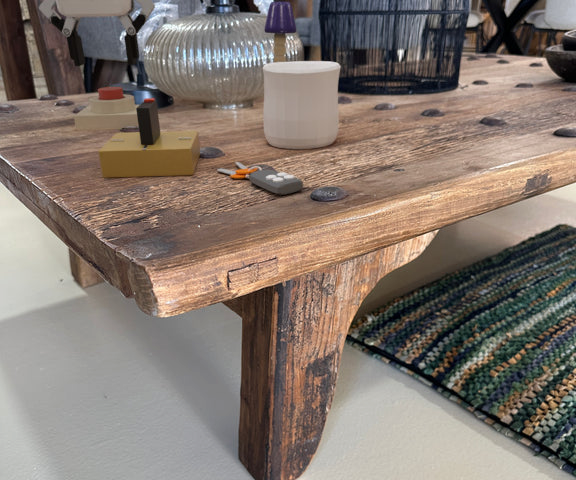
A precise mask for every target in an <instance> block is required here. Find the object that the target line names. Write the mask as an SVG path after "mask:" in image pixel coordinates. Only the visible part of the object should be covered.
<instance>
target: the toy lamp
mask: <svg viewBox="0 0 576 480" xmlns="http://www.w3.org/2000/svg"><path fill="white" fill-rule="evenodd" d="M296 32H297V27H296V20H295V16H294V11H293V6H292V3H291V2H289V1H270V3H269V6H268V11H267V15H266V20H265V24H264V33H266V34H274V35H273V42H274V46H273V53H274V58H273V63H275V62H287V58H286V53H287V47H286V42H287V36H286V34H296Z"/></svg>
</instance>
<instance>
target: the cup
mask: <svg viewBox="0 0 576 480" xmlns="http://www.w3.org/2000/svg"><path fill="white" fill-rule="evenodd" d="M341 67H342V66H341V64H340V63H338V62H335V61H329V60H327V61H325V60H297V61H286V62H275V63H274V62H268V63H266V64H264V65H263V66H262V72H263V93H264V96H263V110H262V116H263V117H262V118H263V119H262V120H263V133H264V137H265V139H266V141H267V143H268V144H269V145H270V146H272V147H274V148H275V147H276V148H279V149H286V150H311V149H318V148H319V149H320V148H323V147H327V146H330V145H332V144H333V143H334V142H335V141H336V139H337V137H338V133H339V124H340V123H339V122H340V121H339V118H340V112H339V111H340V110H339V95H338V94H339V92H338V91H339V80H340V72H341Z"/></svg>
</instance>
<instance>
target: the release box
mask: <svg viewBox="0 0 576 480" xmlns="http://www.w3.org/2000/svg"><path fill="white" fill-rule="evenodd" d="M123 96H124V98H122V99H116V100H100V99H99V95H97V96H92V97H90V98H89V99H88V104H89V105H87V106H86V107H84V108H83V109H82V110H80V111H79V112H77V113H75V114H74V115H73V120H74V127H75V131H106V130H107V131H110V130H123V129H122V128H124V127H127V126H137V127H139V126H138V118H137V111H136V108H137V107H138V106H139V105H140V104H136V101H135V96H134V95H131V94H125V93H123Z"/></svg>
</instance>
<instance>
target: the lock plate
mask: <svg viewBox="0 0 576 480" xmlns="http://www.w3.org/2000/svg"><path fill="white" fill-rule="evenodd" d="M199 135H200V134H199V130H174V131H172V130H171V131H169V130H168V131H160V136H159V137H158V139H157V140H156V141H155V143H154V144H153V145H141V140H140V133H139V131H138V132H137V131H135V132H116V133H114V135H113V136H112V137H110V139H108V141H107V142H106V143H105V144H104V145H103V146H102V147H100V149H99V150H98V153H97V154H98V157H99V165H100V169H101V175H102V178H104V179H107V178H109V179H112V178H113V179H114V178H139V177H140V178H141V177H173V176H174V177H175V176H178V177H179V176H194V174H195V171H196V169H197V168H196V167H197V166H198V165H197V164H198V162H199V159H200V157H201V147H200V137H199Z"/></svg>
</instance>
